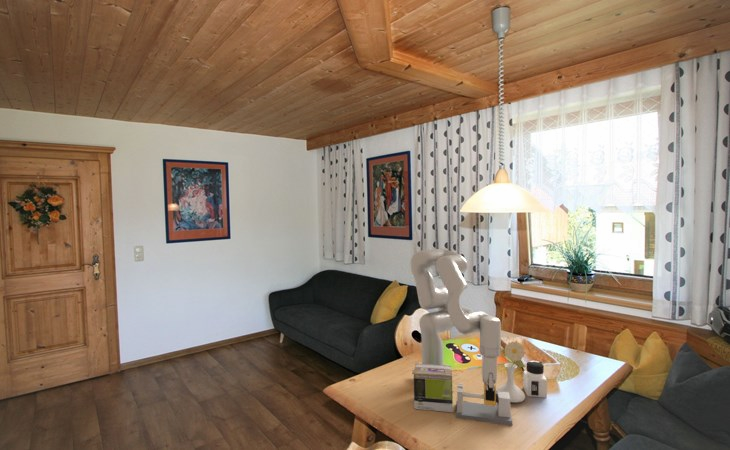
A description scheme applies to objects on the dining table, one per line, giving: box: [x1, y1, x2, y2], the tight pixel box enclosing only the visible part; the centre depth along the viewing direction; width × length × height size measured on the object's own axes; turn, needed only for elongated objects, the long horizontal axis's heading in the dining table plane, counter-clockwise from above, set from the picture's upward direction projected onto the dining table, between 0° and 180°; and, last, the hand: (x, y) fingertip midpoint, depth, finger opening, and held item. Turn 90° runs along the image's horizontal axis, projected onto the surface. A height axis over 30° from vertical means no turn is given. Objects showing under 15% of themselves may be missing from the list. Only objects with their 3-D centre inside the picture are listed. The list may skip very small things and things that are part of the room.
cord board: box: [455, 382, 513, 426], centre depth 143 cm, size 20×10×10 cm, turn 75°
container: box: [522, 360, 548, 399], centre depth 159 cm, size 8×8×13 cm
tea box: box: [413, 363, 454, 413], centre depth 150 cm, size 15×10×15 cm, turn 78°
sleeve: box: [483, 382, 497, 406], centre depth 142 cm, size 4×4×8 cm
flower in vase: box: [496, 340, 526, 403], centre depth 154 cm, size 13×11×25 cm
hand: (489, 396), depth 142 cm, fingers closed on sleeve, 4 cm apart
